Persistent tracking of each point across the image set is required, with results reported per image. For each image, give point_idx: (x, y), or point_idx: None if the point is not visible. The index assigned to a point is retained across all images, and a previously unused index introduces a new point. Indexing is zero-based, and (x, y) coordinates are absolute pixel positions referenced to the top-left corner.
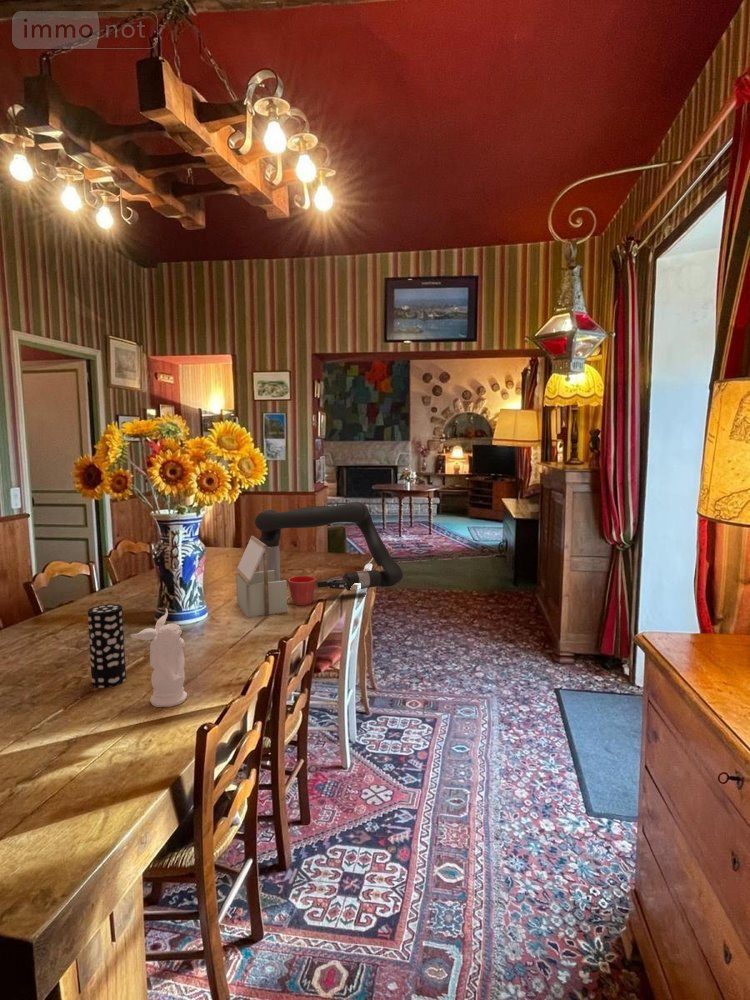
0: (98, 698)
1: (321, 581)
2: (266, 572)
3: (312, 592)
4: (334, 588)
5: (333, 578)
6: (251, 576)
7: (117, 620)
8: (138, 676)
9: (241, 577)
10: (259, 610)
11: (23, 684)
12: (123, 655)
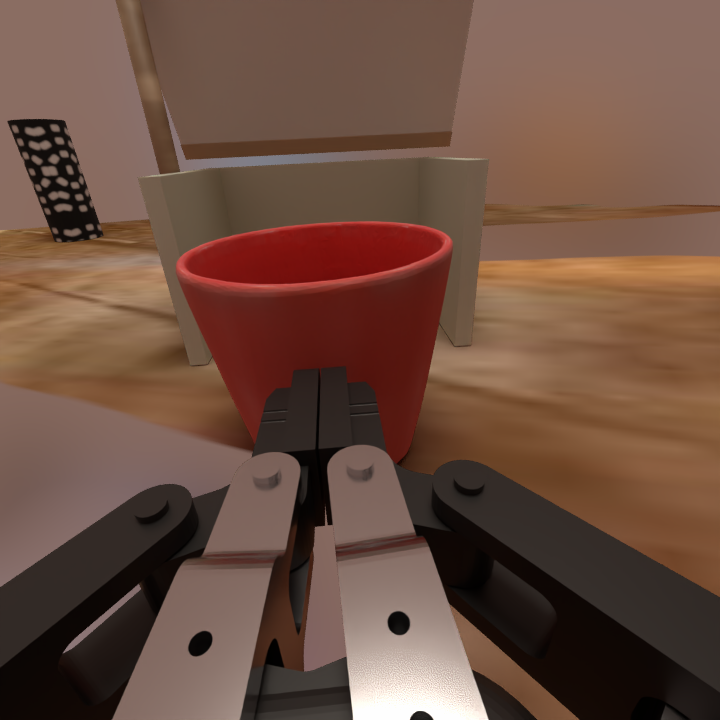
0: (34, 238)
1: (335, 399)
2: (141, 101)
3: (238, 399)
4: (84, 657)
5: (378, 618)
6: (175, 123)
7: (15, 139)
8: (58, 245)
9: (355, 161)
10: None
11: None
12: (44, 202)
